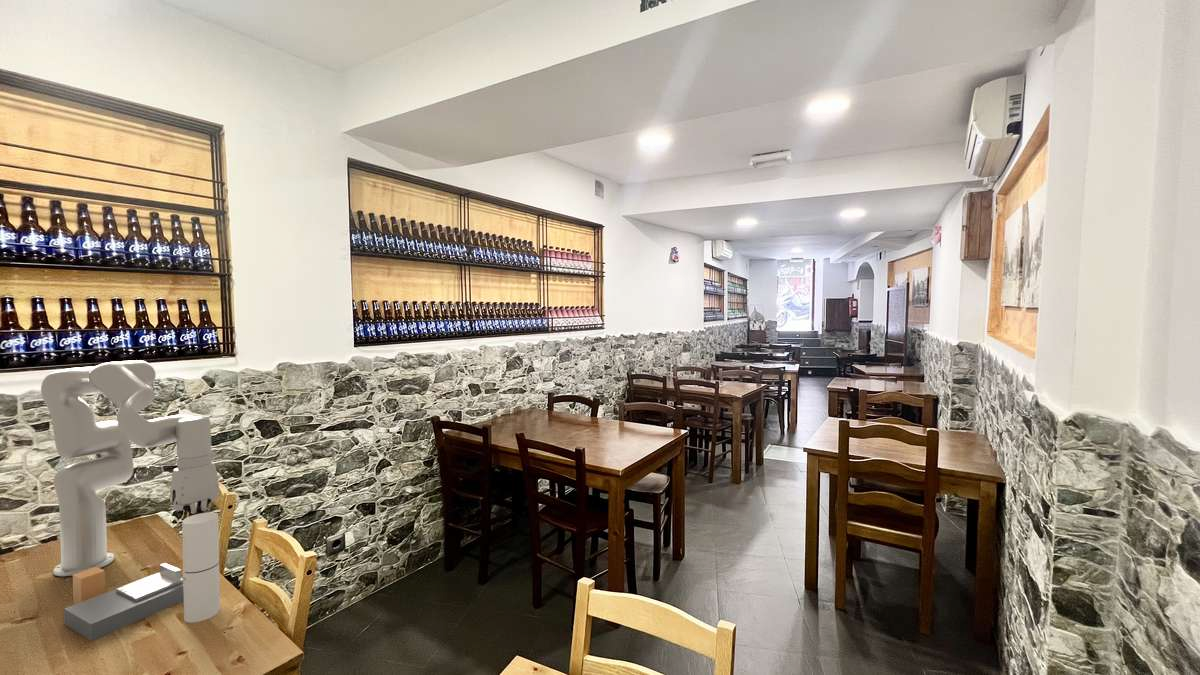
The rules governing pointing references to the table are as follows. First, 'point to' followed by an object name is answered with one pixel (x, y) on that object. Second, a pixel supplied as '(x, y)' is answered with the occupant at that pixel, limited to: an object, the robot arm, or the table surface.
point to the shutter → (152, 583)
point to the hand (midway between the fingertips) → (196, 525)
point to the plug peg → (88, 584)
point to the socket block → (116, 611)
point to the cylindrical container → (201, 566)
